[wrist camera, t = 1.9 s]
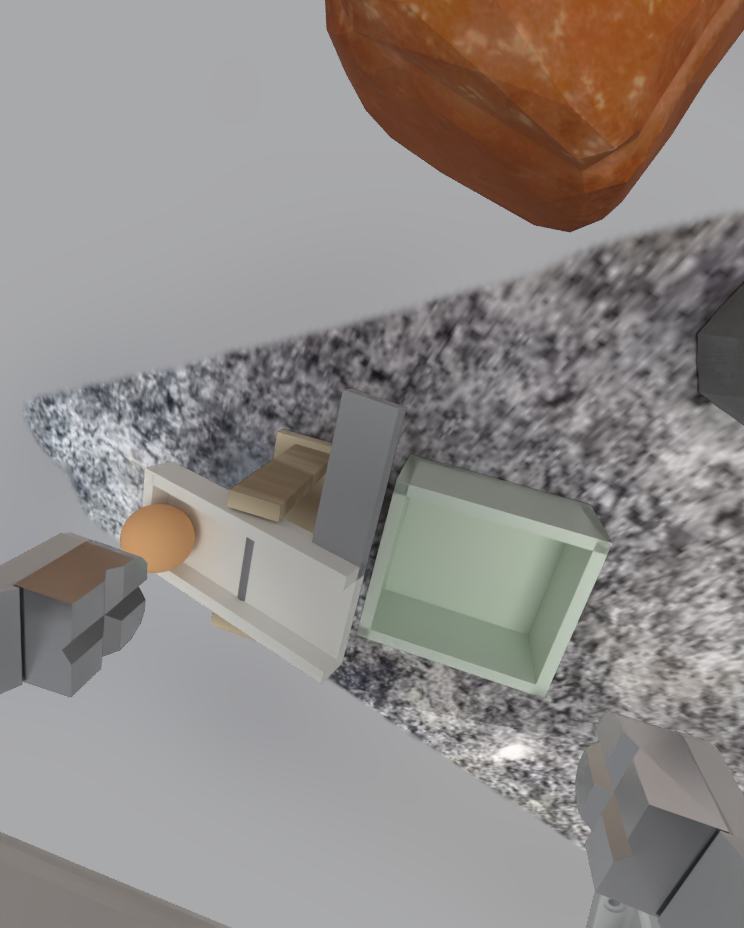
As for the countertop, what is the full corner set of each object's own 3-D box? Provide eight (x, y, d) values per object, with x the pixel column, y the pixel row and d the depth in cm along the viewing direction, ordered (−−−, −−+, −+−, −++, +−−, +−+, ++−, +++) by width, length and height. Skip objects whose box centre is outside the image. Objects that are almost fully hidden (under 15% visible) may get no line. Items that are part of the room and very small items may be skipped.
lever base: (332, 566, 39) (279, 656, 29) (263, 544, 40) (187, 624, 30) (358, 450, 36) (308, 505, 25) (282, 429, 37) (204, 473, 26)
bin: (534, 640, 37) (544, 698, 32) (374, 588, 39) (356, 635, 33) (590, 504, 33) (612, 543, 28) (409, 454, 35) (396, 480, 29)
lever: (342, 664, 27) (320, 685, 25) (166, 552, 33) (138, 563, 31) (407, 407, 22) (386, 411, 20) (186, 331, 28) (155, 329, 26)
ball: (205, 567, 30) (152, 596, 27) (159, 542, 32) (102, 566, 28) (212, 510, 29) (157, 532, 25) (164, 486, 30) (105, 504, 27)
